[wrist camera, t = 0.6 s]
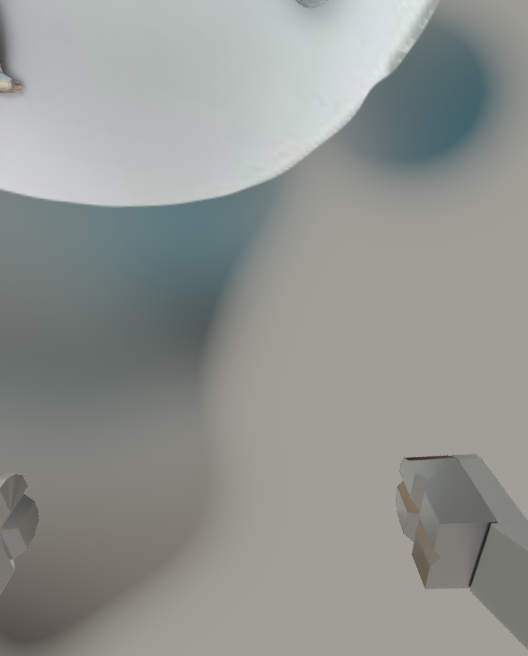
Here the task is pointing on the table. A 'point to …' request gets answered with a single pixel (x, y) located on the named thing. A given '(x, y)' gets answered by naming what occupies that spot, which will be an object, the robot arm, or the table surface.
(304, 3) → the piston
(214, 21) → the table surface
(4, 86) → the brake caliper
